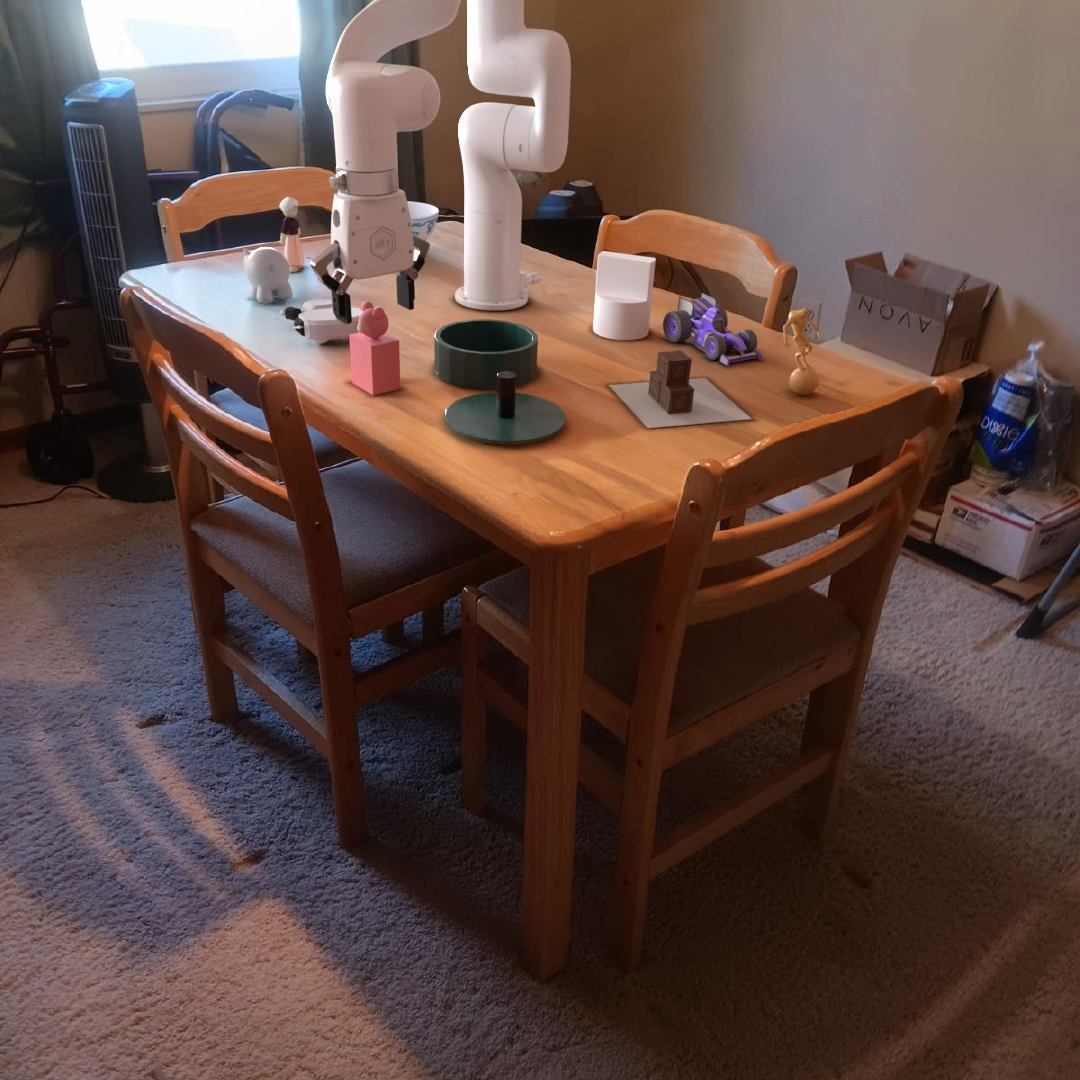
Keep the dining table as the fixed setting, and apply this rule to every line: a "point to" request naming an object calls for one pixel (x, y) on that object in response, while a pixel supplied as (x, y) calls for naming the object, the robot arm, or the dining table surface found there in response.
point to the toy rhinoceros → (267, 274)
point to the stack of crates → (677, 396)
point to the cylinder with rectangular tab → (623, 295)
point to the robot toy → (321, 321)
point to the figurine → (801, 353)
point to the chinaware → (422, 219)
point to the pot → (484, 352)
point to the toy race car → (709, 330)
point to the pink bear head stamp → (374, 353)
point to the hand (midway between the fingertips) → (375, 313)
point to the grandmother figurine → (291, 234)
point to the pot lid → (505, 415)
